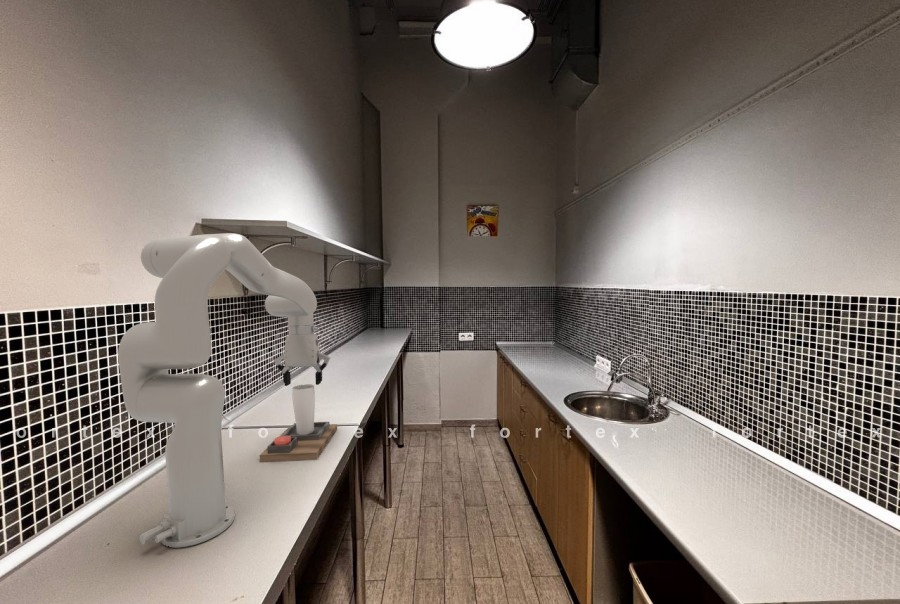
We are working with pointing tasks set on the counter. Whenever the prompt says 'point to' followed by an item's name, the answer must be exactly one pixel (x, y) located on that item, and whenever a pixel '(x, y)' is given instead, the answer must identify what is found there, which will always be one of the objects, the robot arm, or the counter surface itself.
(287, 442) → the button
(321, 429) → the brown flat wooden board
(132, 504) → the counter surface
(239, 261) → the robot arm
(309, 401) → the drinking glass
